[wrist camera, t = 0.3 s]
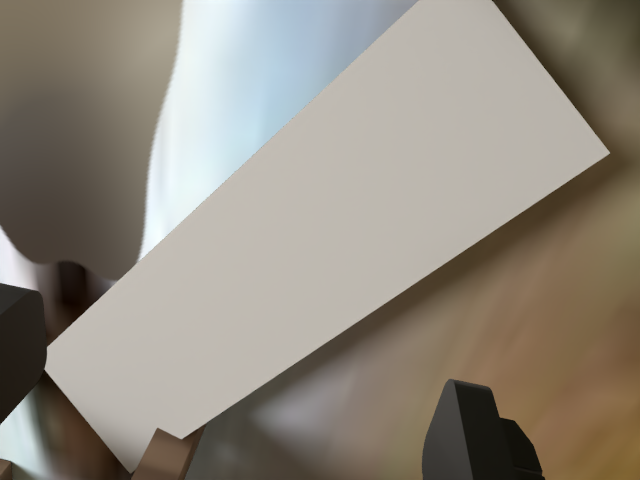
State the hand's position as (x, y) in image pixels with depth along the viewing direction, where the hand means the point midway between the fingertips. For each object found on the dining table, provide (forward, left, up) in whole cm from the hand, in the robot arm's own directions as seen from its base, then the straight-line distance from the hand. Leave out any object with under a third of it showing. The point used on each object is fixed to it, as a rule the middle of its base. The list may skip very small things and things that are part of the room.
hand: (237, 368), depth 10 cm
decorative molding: (+9, -1, -19) cm, 21 cm away
